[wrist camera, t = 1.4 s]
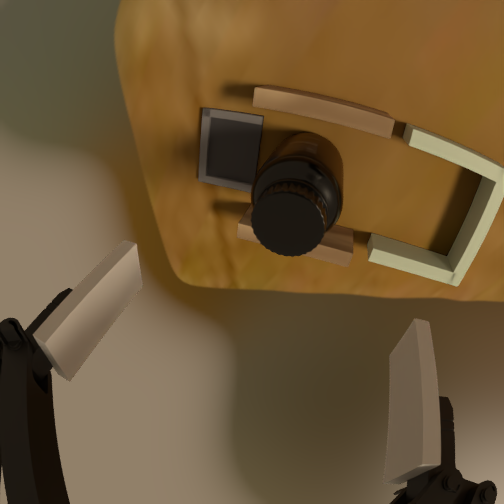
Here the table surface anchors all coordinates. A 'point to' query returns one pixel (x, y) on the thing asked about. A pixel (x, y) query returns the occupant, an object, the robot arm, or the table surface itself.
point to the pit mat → (229, 148)
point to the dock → (474, 226)
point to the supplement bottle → (297, 194)
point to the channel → (332, 110)
